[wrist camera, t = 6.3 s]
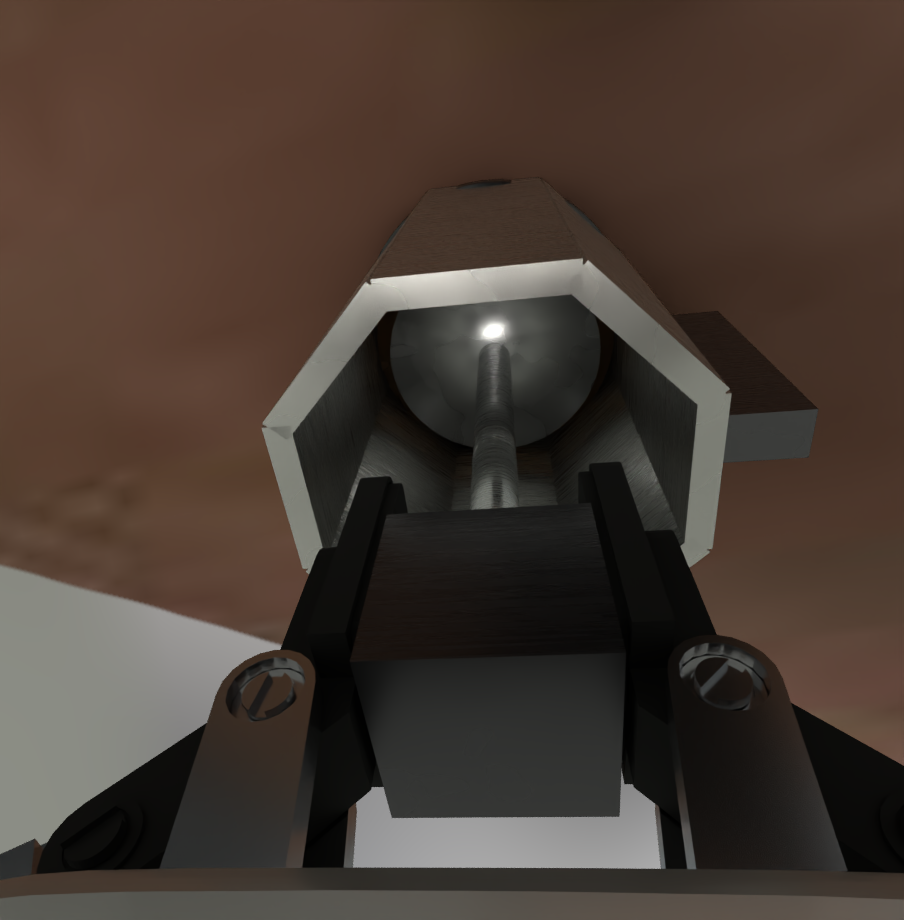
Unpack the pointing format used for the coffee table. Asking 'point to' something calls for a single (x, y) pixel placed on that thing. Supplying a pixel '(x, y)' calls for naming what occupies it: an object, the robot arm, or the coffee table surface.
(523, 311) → the plunger
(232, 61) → the coffee table surface
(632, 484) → the press carafe
